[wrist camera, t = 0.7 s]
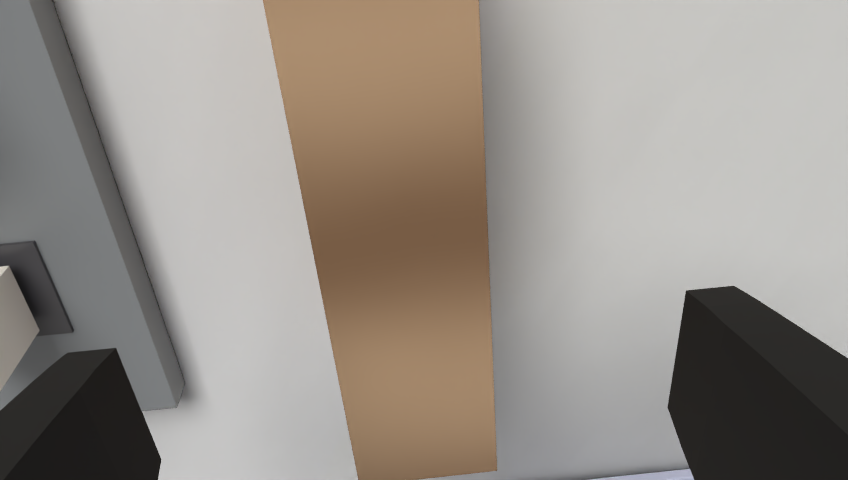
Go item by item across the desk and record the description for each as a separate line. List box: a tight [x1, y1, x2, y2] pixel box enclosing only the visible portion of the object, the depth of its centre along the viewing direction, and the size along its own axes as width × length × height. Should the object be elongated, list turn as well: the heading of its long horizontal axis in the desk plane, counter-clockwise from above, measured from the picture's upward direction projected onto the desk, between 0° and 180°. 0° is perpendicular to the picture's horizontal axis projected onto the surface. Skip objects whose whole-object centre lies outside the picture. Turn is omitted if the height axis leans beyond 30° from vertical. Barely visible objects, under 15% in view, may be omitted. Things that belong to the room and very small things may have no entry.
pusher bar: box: [263, 0, 497, 480], centre depth 14 cm, size 12×3×6 cm, turn 5°
